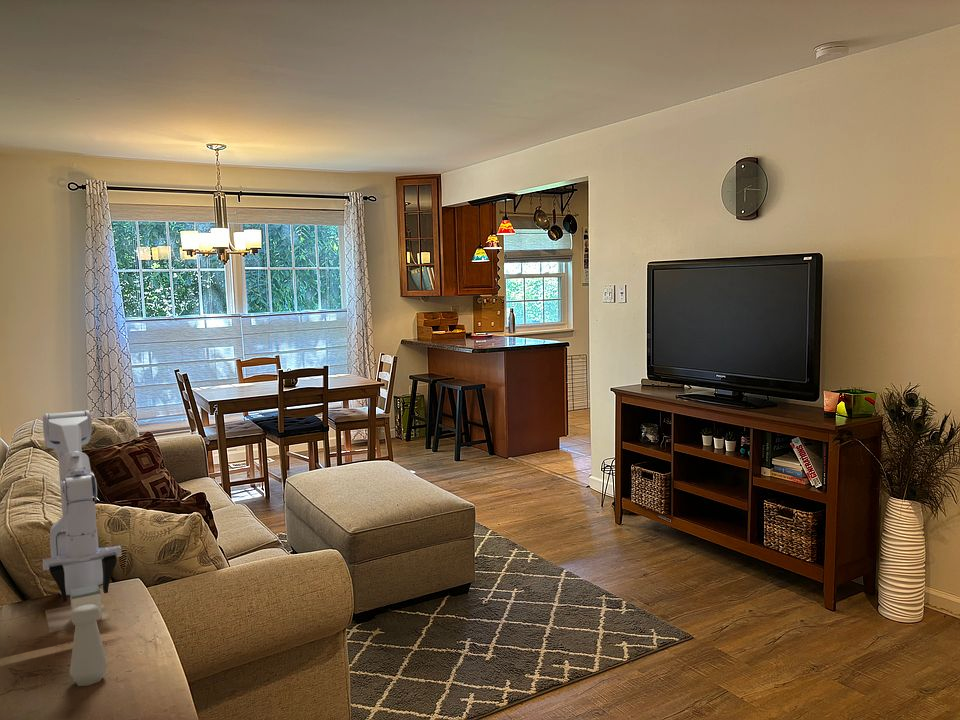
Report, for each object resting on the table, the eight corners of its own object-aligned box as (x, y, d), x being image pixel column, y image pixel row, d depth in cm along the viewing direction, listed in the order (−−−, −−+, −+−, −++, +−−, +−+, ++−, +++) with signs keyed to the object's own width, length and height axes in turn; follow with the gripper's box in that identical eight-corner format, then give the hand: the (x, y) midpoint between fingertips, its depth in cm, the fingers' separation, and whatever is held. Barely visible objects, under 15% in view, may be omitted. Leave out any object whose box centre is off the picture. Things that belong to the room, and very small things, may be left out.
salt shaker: (96, 688, 123) (91, 612, 122) (63, 689, 123) (58, 613, 123) (114, 672, 129) (109, 600, 128) (82, 673, 129) (78, 601, 128)
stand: (45, 616, 159) (43, 593, 159) (101, 603, 165) (99, 582, 165) (50, 638, 146) (48, 614, 146) (110, 624, 152) (109, 601, 152)
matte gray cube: (71, 617, 154) (70, 590, 154) (99, 611, 157) (97, 584, 157) (74, 625, 149) (72, 596, 149) (102, 618, 152) (100, 590, 152)
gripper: (42, 543, 145) (46, 609, 146) (122, 529, 153) (125, 593, 154) (40, 536, 151) (44, 600, 152) (117, 523, 159) (121, 584, 160)
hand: (85, 596), depth 153 cm, fingers open, 7 cm apart
